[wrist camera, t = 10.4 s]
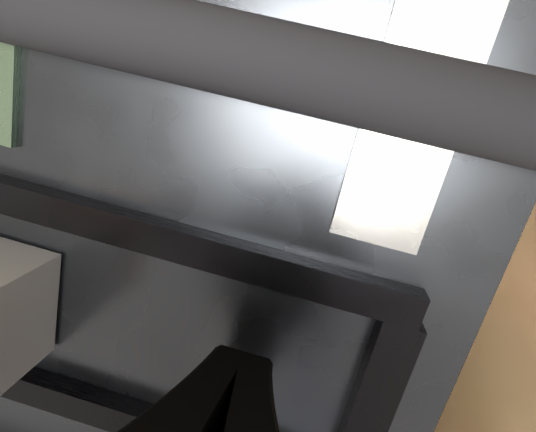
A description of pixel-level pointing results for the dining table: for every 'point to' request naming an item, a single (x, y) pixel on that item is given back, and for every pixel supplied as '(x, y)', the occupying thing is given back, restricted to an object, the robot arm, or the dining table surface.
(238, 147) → the breaker panel
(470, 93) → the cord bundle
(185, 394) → the robot arm
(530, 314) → the dining table surface
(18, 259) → the breaker lever
